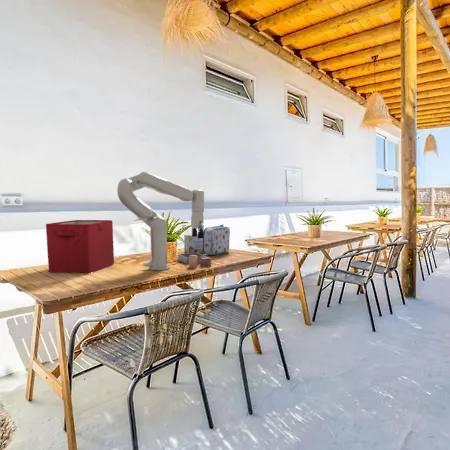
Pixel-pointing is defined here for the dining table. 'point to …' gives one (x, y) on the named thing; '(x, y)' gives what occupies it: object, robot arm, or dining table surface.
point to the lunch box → (216, 240)
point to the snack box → (193, 244)
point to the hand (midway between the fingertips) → (197, 237)
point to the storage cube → (80, 245)
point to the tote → (185, 257)
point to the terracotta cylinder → (192, 260)
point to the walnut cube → (205, 261)
